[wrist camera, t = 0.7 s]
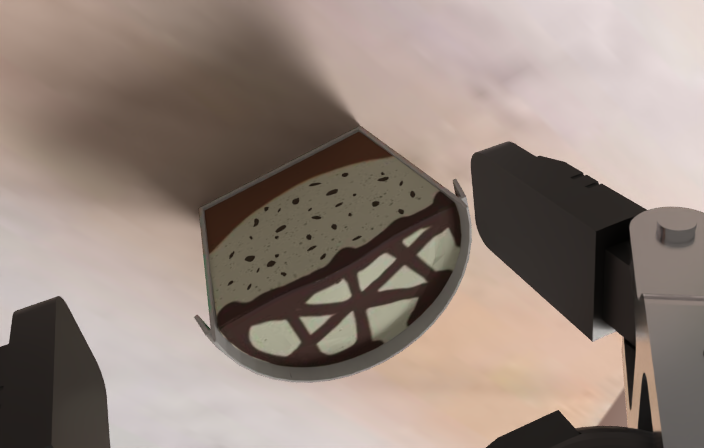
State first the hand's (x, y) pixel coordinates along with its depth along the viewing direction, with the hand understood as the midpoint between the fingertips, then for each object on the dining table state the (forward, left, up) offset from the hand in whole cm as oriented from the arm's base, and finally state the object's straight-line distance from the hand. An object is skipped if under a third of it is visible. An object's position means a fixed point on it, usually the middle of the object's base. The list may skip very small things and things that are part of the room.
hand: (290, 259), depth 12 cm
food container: (+4, +11, -20) cm, 23 cm away
